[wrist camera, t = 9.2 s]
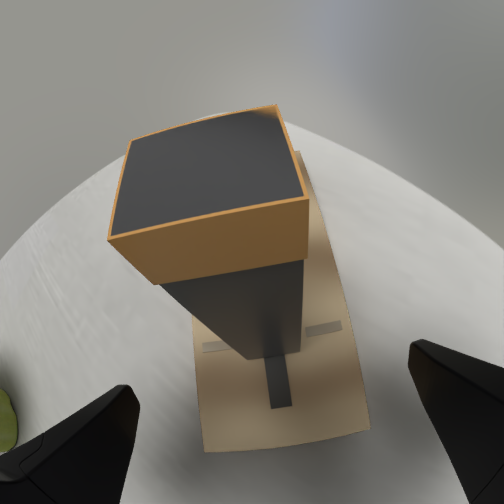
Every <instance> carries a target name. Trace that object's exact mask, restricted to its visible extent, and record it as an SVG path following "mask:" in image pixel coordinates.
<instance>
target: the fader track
mask: <svg viewBox="0 0 504 504" xmlns="http://www.w3.org/2000/svg"><path fill="white" fill-rule="evenodd" d="M294 153H295V156H296V159H297V162H298V165H299V168H300V171H301V174H302V177H303V180H304V183H305V186H306V189H307V192H308V196H309V238H308V259H304V278H303V307H302V329H301V347H300V352H296V353H290V354H284V355H278V356H272V357H265V358H259V359H252V360H246V359H245V358H244V357H243V356H241V355H240V354H239V353H238V352H236V351H235V350H234V349H233V348H231V347H230V346H229V345H228V344H227V343H225V342H224V341H223V340H222V339H220V338H219V337H218V336H217V335H216V334H214V333H213V332H212V331H211V330H210V329H209V328H207V327H206V326H205V325H204V324H203V323H202V322H200V321H199V320H198V319H197V318H196V317H195V316H193V315H192V328H193V344H194V358H195V371H196V383H197V394H198V404H199V413H200V422H201V431H202V439H203V447H204V452H233V451H249V450H260V449H270V448H278V447H286V446H293V445H299V444H305V443H311V442H316V441H321V440H326V439H331V438H336V437H340V436H344V435H348V434H353V433H356V432H360V431H364V430H368V429H371V427H370V420H369V414H368V407H367V401H366V396H365V390H364V384H363V379H362V374H361V369H360V364H359V359H358V354H357V349H356V344H355V340H354V335H353V331H352V326H351V322H350V318H349V314H348V309H347V305H346V301H345V297H344V293H343V289H342V286H341V282H340V278H339V274H338V271H337V267H336V263H335V260H334V256H333V253H332V249H331V246H330V242H329V239H328V235H327V232H326V229H325V225H324V222H323V219H322V216H321V213H320V209H319V206H318V203H317V200H316V197H315V194H314V191H313V188H312V185H311V182H310V179H309V176H308V173H307V170H306V168H305V165H304V162H303V159H302V156H301V154H300V151H294Z"/></svg>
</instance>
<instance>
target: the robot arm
mask: <svg viewBox="0 0 504 504" xmlns="http://www.w3.org/2000/svg"><path fill="white" fill-rule="evenodd" d="M408 368H409V371H410V373H411V376H412V378H413V381H414V383H415V386H416V388H417V391H418V394H419V396H420V399H421V401H422V404H423V406H424V408H425V410H426V412H427V414H428V416H429V418H430V420H431V422H432V424H433V426H434V428H435V430H436V432H437V434H438V436H439V438H440V440H441V442H442V444H443V446H444V448H445V450H446V452H447V454H448V456H449V458H450V460H451V463H452V465H453V467H454V469H455V471H456V473H457V476H458V478H459V480H460V483H461V485H462V487H463V490H464V492H465V494H466V497H467V499H468V502H469V504H504V368H502V367H499V366H497V365H494V364H491V363H488V362H485V361H482V360H480V359H477V358H474V357H471V356H468V355H466V354H463V353H460V352H457V351H454V350H452V349H449V348H446V347H443V346H441V345H438V344H435V343H433V342H430V341H427V340H424V339H420V340H417V341H414V342H412V343H411V344H410V350H409V359H408ZM139 413H140V403H139V401H138V399H137V397H136V395H135V394H134V392H133V390H132V388H131V387H130V386H129V385H117V386H115V387H114V388H112V389H111V390H109V391H108V392H106V393H105V394H103V395H102V396H100V397H99V398H97V399H96V400H94V401H93V402H91V403H89V404H88V405H86V406H85V407H83V408H82V409H80V410H79V411H77V412H76V413H74V414H72V415H71V416H69V417H68V418H66V419H64V420H63V421H61V422H60V423H58V424H57V425H55V426H53V427H52V428H50V429H48V430H47V431H45V433H42V434H40V435H39V436H37V437H35V438H34V439H32V440H30V441H28V442H27V443H25V444H23V445H21V446H19V447H17V448H15V449H13V450H11V451H9V452H7V453H5V454H2V455H0V504H119V503H120V499H121V495H122V491H123V487H124V482H125V478H126V474H127V471H128V467H129V463H130V459H131V455H132V452H133V448H134V443H135V438H136V431H137V425H138V419H139Z"/></svg>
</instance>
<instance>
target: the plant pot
mask: <svg viewBox="0 0 504 504" xmlns="http://www.w3.org/2000/svg"><path fill="white" fill-rule="evenodd" d="M16 440H17V419H16V415H15V413H14V411H13V409H12V407H11V404H10V398H9V396H8V395H7V394H6V392H5V391H4V390H2V389H0V452H6V451H9V450H10V449H11V448H12V447H13V446H15V444H16Z"/></svg>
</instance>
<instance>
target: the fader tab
mask: <svg viewBox="0 0 504 504" xmlns="http://www.w3.org/2000/svg"><path fill="white" fill-rule="evenodd" d="M308 238H309V196H308V192H307V189H306V186H305V183H304V180H303V177H302V174H301V171H300V168H299V165H298V162H297V159H296V156H295V153H294V150H293V147H292V144H291V141H290V139H289V136H288V133H287V130H286V127H285V125H284V122H283V119H282V117H281V114H280V111H279V109H278V106H277V105H270V106H263V107H257V108H252V109H246V110H242V111H236V112H231V113H226V114H222V115H217V116H213V117H209V118H204V119H200V120H196V121H192V122H189V123H185V124H181V125H177V126H174V127H170V128H167V129H163V130H160V131H157V132H153V133H151V134H147V135H144V136H141V137H138V138H135V139H132V140H130V141H129V144H128V148H127V151H126V155H125V159H124V162H123V166H122V170H121V174H120V178H119V182H118V187H117V191H116V196H115V200H114V205H113V210H112V215H111V220H110V226H109V231H108V237H107V241H108V242H109V243H110V244H111V245H112V246H113V247H114V248H115V249H116V250H117V251H118V252H119V253H120V254H121V255H122V256H123V257H124V258H125V259H126V260H128V261H129V262H130V263H131V264H132V265H133V266H134V267H135V268H136V269H137V270H138V271H139V272H140V273H141V274H142V275H143V276H145V277H146V278H147V279H148V280H149V281H150V282H151V283H152V284H153V285H158V284H159V285H160V286H161V287H162V288H163V289H165V290H166V291H167V292H168V293H169V294H170V295H171V296H172V297H173V298H174V299H175V300H177V301H178V302H179V303H180V304H181V305H182V306H183V307H184V308H185V309H187V310H188V311H189V312H190V313H191V314H192V315H193V316H195V317H196V318H197V319H198V320H199V321H200V322H202V323H203V324H204V325H205V326H206V327H207V328H209V329H210V330H211V331H212V332H213V333H214V334H216V335H217V336H218V337H219V338H220V339H222V340H223V341H224V342H225V343H227V344H228V345H229V346H230V347H231V348H233V349H234V350H235V351H236V352H238V353H239V354H240V355H241V356H243V357H244V358H245V359H246V360H252V359H259V358H265V357H272V356H278V355H284V354H290V353H296V352H300V347H301V329H302V307H303V278H304V259H308Z"/></svg>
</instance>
